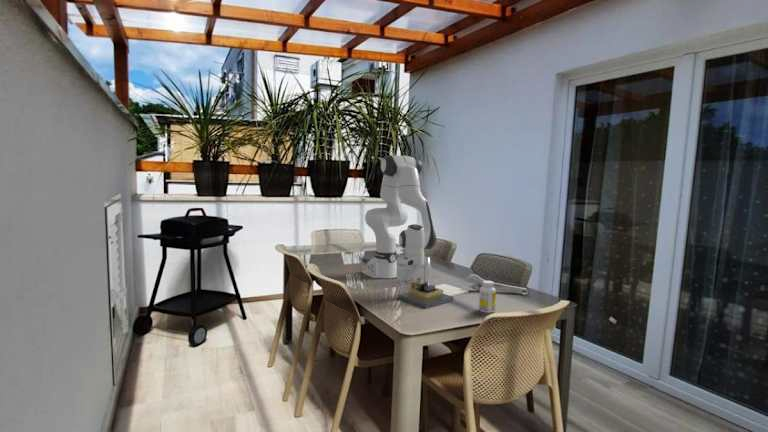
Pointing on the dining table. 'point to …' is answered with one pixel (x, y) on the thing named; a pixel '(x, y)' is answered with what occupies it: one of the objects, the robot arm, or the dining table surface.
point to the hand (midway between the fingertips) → (414, 287)
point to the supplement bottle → (487, 297)
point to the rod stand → (426, 288)
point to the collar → (424, 295)
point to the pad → (451, 290)
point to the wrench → (503, 287)
